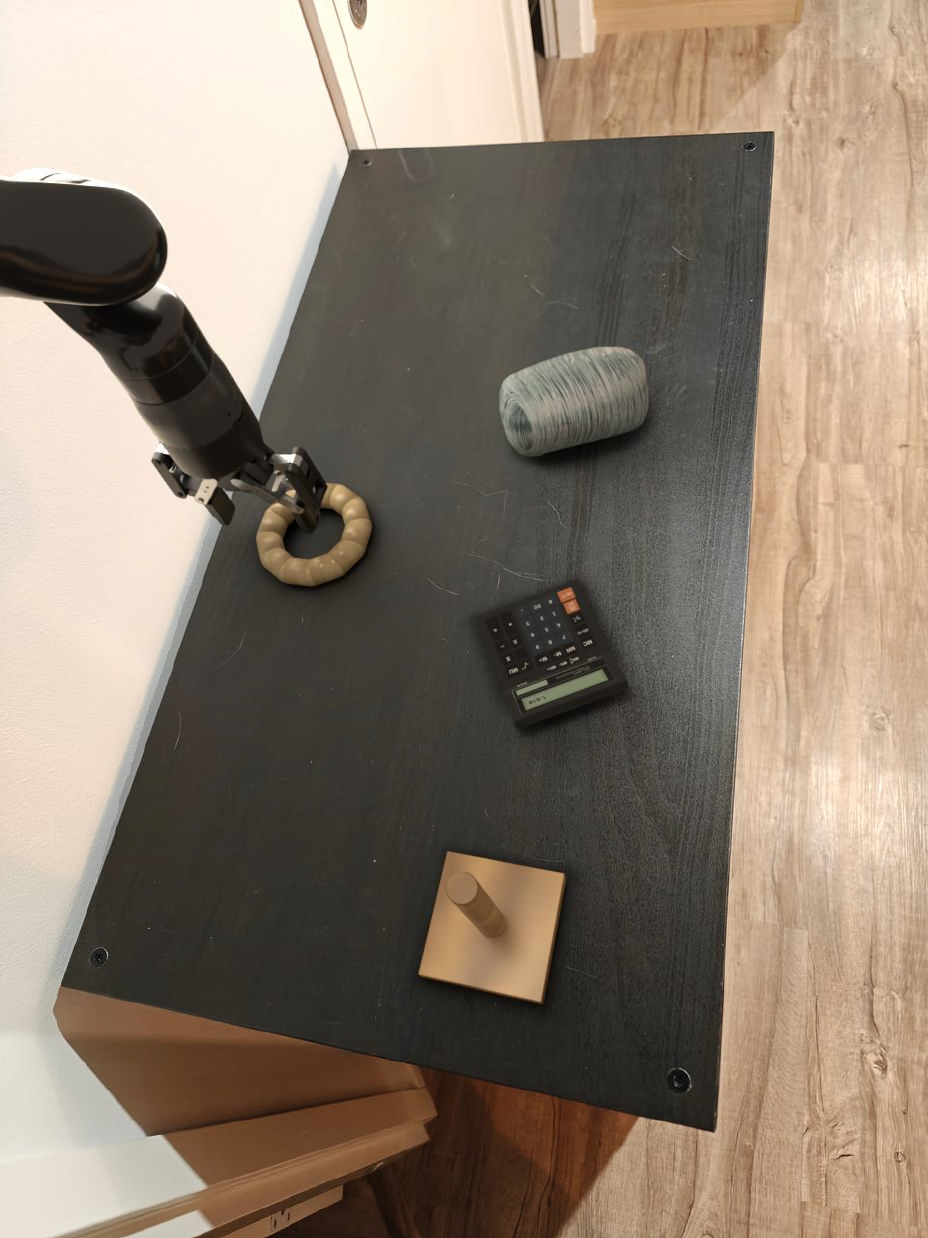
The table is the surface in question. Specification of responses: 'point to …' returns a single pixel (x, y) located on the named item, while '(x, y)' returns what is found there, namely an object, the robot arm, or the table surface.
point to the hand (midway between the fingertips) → (270, 521)
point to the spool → (574, 400)
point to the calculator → (550, 654)
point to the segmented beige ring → (323, 565)
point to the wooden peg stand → (494, 927)
